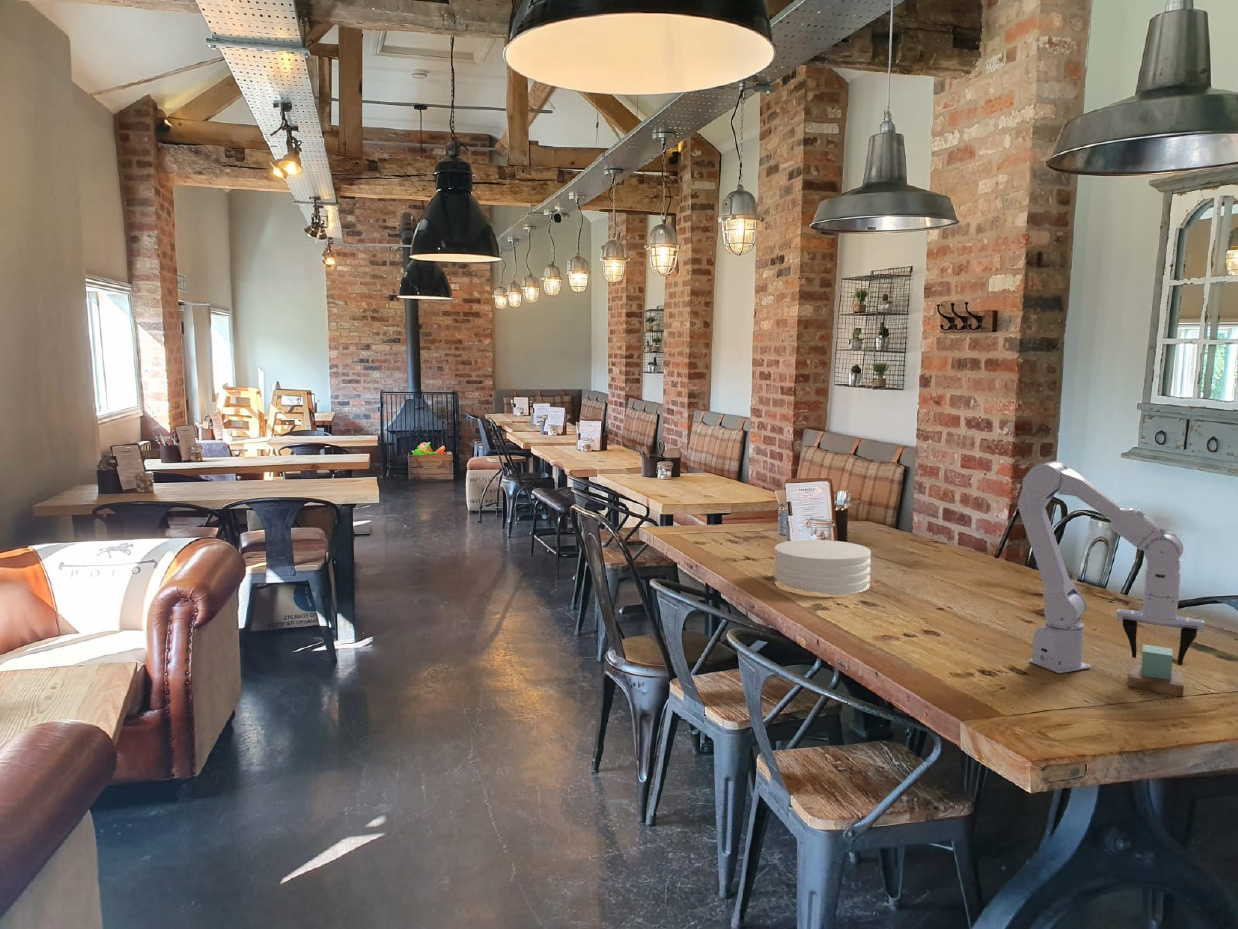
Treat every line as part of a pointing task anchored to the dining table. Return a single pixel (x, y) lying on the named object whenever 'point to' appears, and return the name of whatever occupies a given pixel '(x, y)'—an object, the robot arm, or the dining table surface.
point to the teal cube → (1157, 662)
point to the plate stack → (823, 566)
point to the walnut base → (1156, 681)
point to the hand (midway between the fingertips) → (1156, 660)
